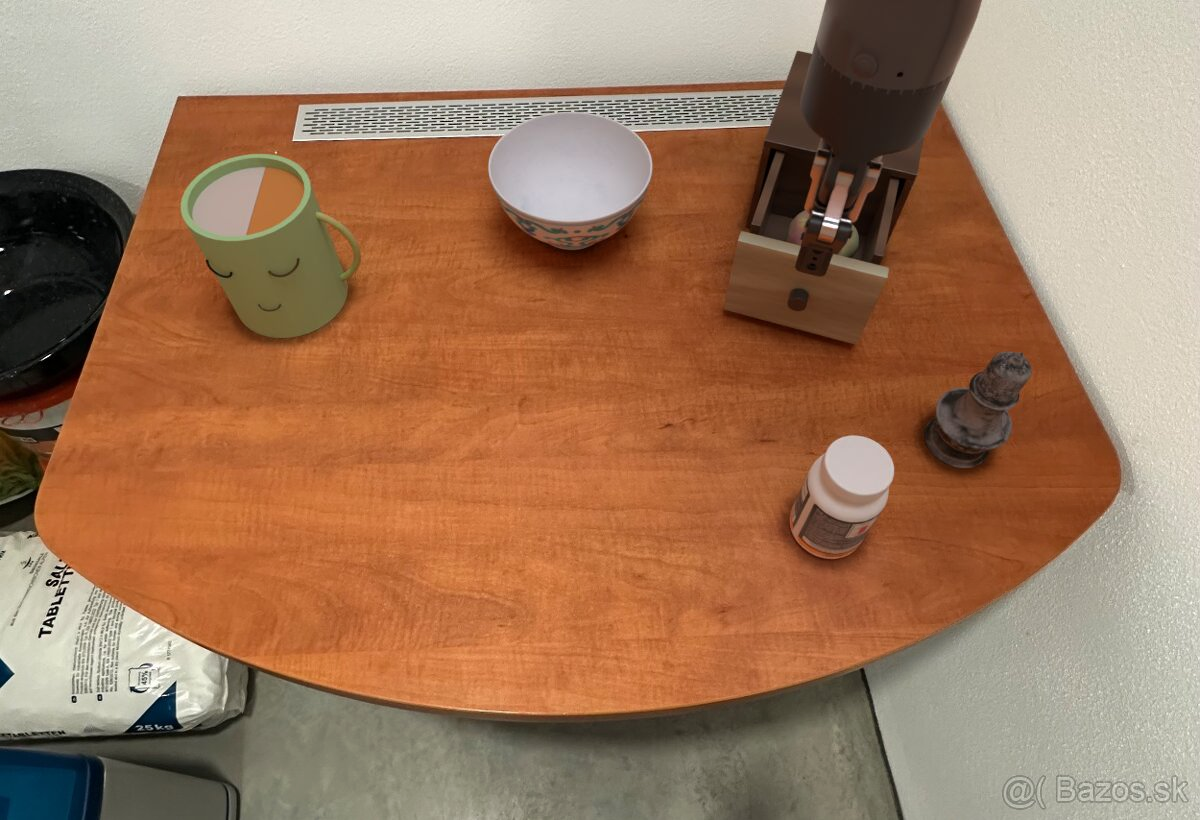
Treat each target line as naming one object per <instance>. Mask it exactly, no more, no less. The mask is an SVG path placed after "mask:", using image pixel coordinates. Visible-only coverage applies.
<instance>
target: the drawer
mask: <svg viewBox="0 0 1200 820" xmlns="http://www.w3.org/2000/svg"><path fill="white" fill-rule="evenodd" d="M814 159H815V158H812V157H807V156H803V155H799V154H794V153H790V152H786V151H781V150H776V153H775V156H774V159H773V162H772V165H771V168H770V171H769V174H768V177H767V180H766V183H765V186H764V188H763V191H762V194H761V197H760V200H759V203H758V206H757V209H756V212H755V215H754V218H753V221H752V223H751V228H750V227H749V232H748V231H744V230H741V231H740V232H739V236H738V239H737V242H736V247H735V251H734V255H733V261H732V267H731V270H730V273H729V274H730V275H729V280H728V284H727V289H726V293H725V297H724V302H723V307H722V310H725V311H728V312H732V313H735V314H739V315H743V316H746V317H749V318H755V319H757V320H762V321H766V322H769V323H773V324H777V325H781V326H784V327H788V328H791V329H795V330H799V331H803V332H806V333H810V334H814V335H818V336H821V337H825V338H828V339H832V340H836V341H839V342H844V343H848V344H851V345H855V346H856V345H858V343H859V341H860V339H861V336H862V334H863V332H864V330H865V328H866V326H867V324H868V321H869V320H870V317H871V315H872V312H873V310H874V308H875V306H876V304H877V302H878V300H879V297H880V295H881V293H882V291H883V289H884V286H885V284H886V282H887V280H888V278H889V273H890V267H888V266H884V265H881V263H882V262H883V260H884V256H885V251H886V248H885V247H887V245H886V242H887V237H888V233H889V228H890V223H891V218H892V213H893V209H894V204H895V199H896V194H897V189H898V184H899V180H900V178H899V177H894V176H890V175H886V174H881V173H880V175H879V178H878V181H877V183H876V185H875V188H874V190H873V191H872V192H869V193H868V194H867V197H866V199H865V202H864V204H863V207H862V209H861V212H860V214H859V217H858V219H857V221H856V222H854V223H851V224H852V225H853V226H854V227H855V228H856V230H857V232H858V236H859V246H858V249H857V251H856V253H855V255H854V256H853V257H852V258H848V257H844V256H840V255H836V254H833V256H832V259H831V261H830V264H829V267H828V269H827V272H826V274H825V275H824V276H821V277H818V276H814V275H810V274H806V273H802V272H799V271H797V270H796V268H795V264H796V261H797V257H798V254H799V251H800V247H801V246H800V245H796V244H792V243H788V242H786V239H787V236H788V230H789V226H790V224H791V222H792V221H793V219H794V218H795V217H796V216H797V215H798V214H800V213H801V212H803V211H805V209H804V206H805V203H806V200H807V196H808V193H809V190H810V186H811V183H812V178H811V177H810V173H811V169H812V166H813V163H814Z"/></svg>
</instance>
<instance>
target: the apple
mask: <svg viewBox="0 0 1200 820" xmlns="http://www.w3.org/2000/svg"><path fill="white" fill-rule="evenodd" d="M808 218H809V213H808V212H806V211H803V212H801V213H800V214H798V215H797V216H796V217H795V218H794V219H793V221H792V222H791V224H790V226H789V230H788V236H787V239H786V242H788V243H792V244H796V245H800V246H801V243H802V240H800V238H801V235H802V232H805V229H803V227H804V224H805V221H807V219H808ZM851 230H853V233H852V236H851V239H849V238H848V241H847V243H846V245H845V246H844V247H843V249H842V250H841V251H840V252H839V254H838V255H840V256H844V257H848V258H852V257H853V256H854V255H855V253H856V251H857V249H858V246H859V236H858V232H857V230H856V228H855V227H854V226H853V225H852V228H851Z"/></svg>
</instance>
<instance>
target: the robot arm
mask: <svg viewBox="0 0 1200 820" xmlns="http://www.w3.org/2000/svg"><path fill="white" fill-rule="evenodd" d="M982 2H983V0H825V3H824V6H823V11H822V15H821V19H820V23H819V27H818V30H817V34H816V37H815V41H814V45H813V47H812V52H811V54H812V56H811V60H810V64H809V68H808V71H807V75H806V79H805V83H804V87H803V91H802V94H801V100H800V107H801V112H802V115H803V118H804V120H805V121H806V123H807V125H808V126H809V127H810V128H811V130H812V131H813V132H814V133H815V134H817V135H818V136H819V137H821V139H820V143H819V146H818V149H817V153H816V156H815V159H814V163H813V166H812V169H811V173H810V177H811V178H812V183H811V186H810V190H809V193H808V196H807V200H806V203H805V206H804V209H805V211H806V212H808V213H809V218H808V219H807V221H805V224H804V227H803V229H805V232H802V235H801V238H800V240H802V243H801V247H800V251H799V254H798V257H797V261H796V264H795V268H796V270H797V271H799V272H802V273H806V274H810V275H814V276H818V277H821V276H824V275H825V274H826V272H827V269H828V267H829V264H830V261H831V259H832V256H833V254H836V255H838V254H839V252H840V251H841V250H842V249H843V247H844V246H845V245H846V243H847V241H848V238H849V239H851V236H852V233H853V230H851V228H852V224H851V223H854V222H856V221H857V219H858V217H859V214H860V212H861V209H862V207H863V204H864V202H865V199H866V197H867V194H868V193H869V192H872V191H873V190H874V188H875V185H876V183H877V181H878V178H879V175H880V172H881V169H882V165H883V162H881V159H882V157H883V155H886V154H892V153H897V152H900V151H903V150H906V149H908V148H910V147H912V146H914V145H915V144H917V143H918V142H919V141H920V140H921V139H922V138H923V137H924V138H925V137H926V135H927V133H928V132H929V130H930V129H931V126H932V124H933V122H934V119H935V117H936V114H937V113H938V110H939V107H940V106H941V104H942V101H943V98H944V96H945V94H946V91H947V89H948V87H949V85H950V83H951V80H952V78H953V75H954V73H955V71H956V68H957V66H958V64H959V61H960V59H961V57H962V55H963V53H964V50H965V48H966V45H967V43H968V41H969V39H970V36H971V34H972V31H973V29H974V26H975V24H976V22H977V19H978V15H979V12H980V9H981V6H982Z"/></svg>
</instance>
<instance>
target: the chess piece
mask: <svg viewBox="0 0 1200 820" xmlns="http://www.w3.org/2000/svg"><path fill="white" fill-rule="evenodd" d="M1032 373H1033V368H1032V365H1031V363H1030V361H1029V360H1028V359H1027V358H1026V356H1025V354H1024V353H1023V352H1016V351H1001V352H999V353H997V354H995V355H994V356H993V357H992V358H991V360H989V362H988V363H987V365H986V366H985V368H984V369H983V370H982V371H980V372H977V373H975V374H974V375H973V376H972V377H971V378H970V380H969V383H968V385H969V387H965V386H964V387H955V388H951V389H949V390H948V391H946V392H944V393H943V394H942V395H941V396H940V397H939V399H938V400H937V402H936V405H935V416H934V417H933V418H931V419H930V420H929V421H928V422H927V424H926V425H925V429H924V433H923V434H924V435H923V436H924V442H925V445H926V446H927V448H928V450H929V452H930V453H931V454H932V455H933V456H934V457H935V458H936V459H937V460H939V461H940V462H942V463H944V464H945V465H947V466H949V467H953V468H956V469H972V468H976V467H978V466H979V465H981V464H983V463H984V462H985V461H986V459H987V458H988V457H989V455H990V451H991V450H995V449H997V448H1000V447H1001V446H1002V445H1004V444H1005V443H1006V442H1007V441H1008V440H1009V438H1010V437H1011V434H1012V431H1013V424H1012V419H1011V415H1010V413H1009V411H1008V410H1011V409H1013V408H1014V407H1015V406H1016V405H1017V404H1018V403H1019V400H1020V392H1021V390H1022V389H1023V388H1024V386H1025V385H1026V384H1027V383H1028V381H1029V380H1030V379H1031V376H1032Z"/></svg>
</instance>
